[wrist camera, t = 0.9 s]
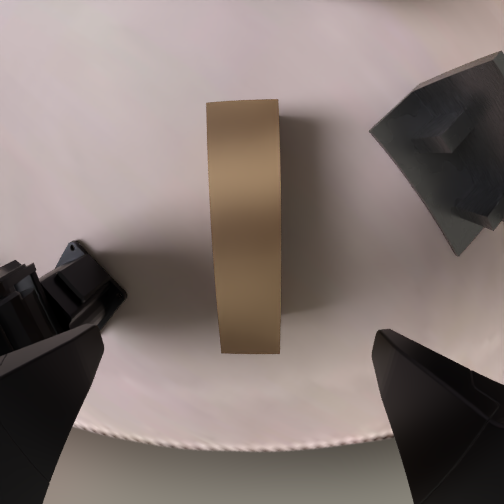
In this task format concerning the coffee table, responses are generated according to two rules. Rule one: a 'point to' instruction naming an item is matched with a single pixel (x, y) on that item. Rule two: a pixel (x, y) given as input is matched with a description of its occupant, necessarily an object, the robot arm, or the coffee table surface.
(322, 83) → the coffee table surface
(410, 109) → the bracket
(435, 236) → the coffee table surface
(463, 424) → the robot arm
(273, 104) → the rail
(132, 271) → the coffee table surface
